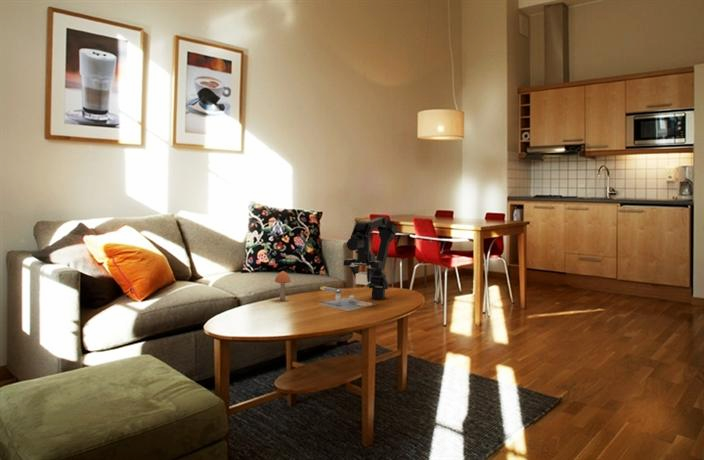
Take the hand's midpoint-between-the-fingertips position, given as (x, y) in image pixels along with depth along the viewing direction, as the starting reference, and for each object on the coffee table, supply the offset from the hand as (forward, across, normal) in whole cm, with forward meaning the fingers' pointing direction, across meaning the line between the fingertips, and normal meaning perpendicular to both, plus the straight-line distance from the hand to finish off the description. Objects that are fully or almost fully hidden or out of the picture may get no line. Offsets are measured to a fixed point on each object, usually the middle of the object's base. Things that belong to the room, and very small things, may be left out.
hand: (363, 281), depth 239 cm
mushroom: (+12, +40, +10) cm, 43 cm away
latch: (+5, +13, +7) cm, 16 cm away
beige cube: (+1, 0, 0) cm, 1 cm away
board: (+12, +7, +3) cm, 14 cm away
